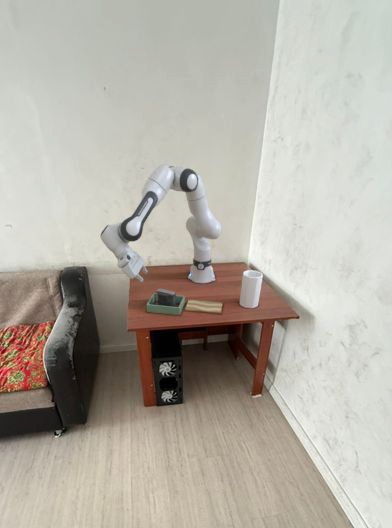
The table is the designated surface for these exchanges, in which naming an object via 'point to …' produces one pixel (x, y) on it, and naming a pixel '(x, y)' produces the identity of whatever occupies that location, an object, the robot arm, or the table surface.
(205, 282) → the robot arm
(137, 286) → the table surface
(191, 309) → the board
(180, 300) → the bin
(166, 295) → the camera
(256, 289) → the cup
